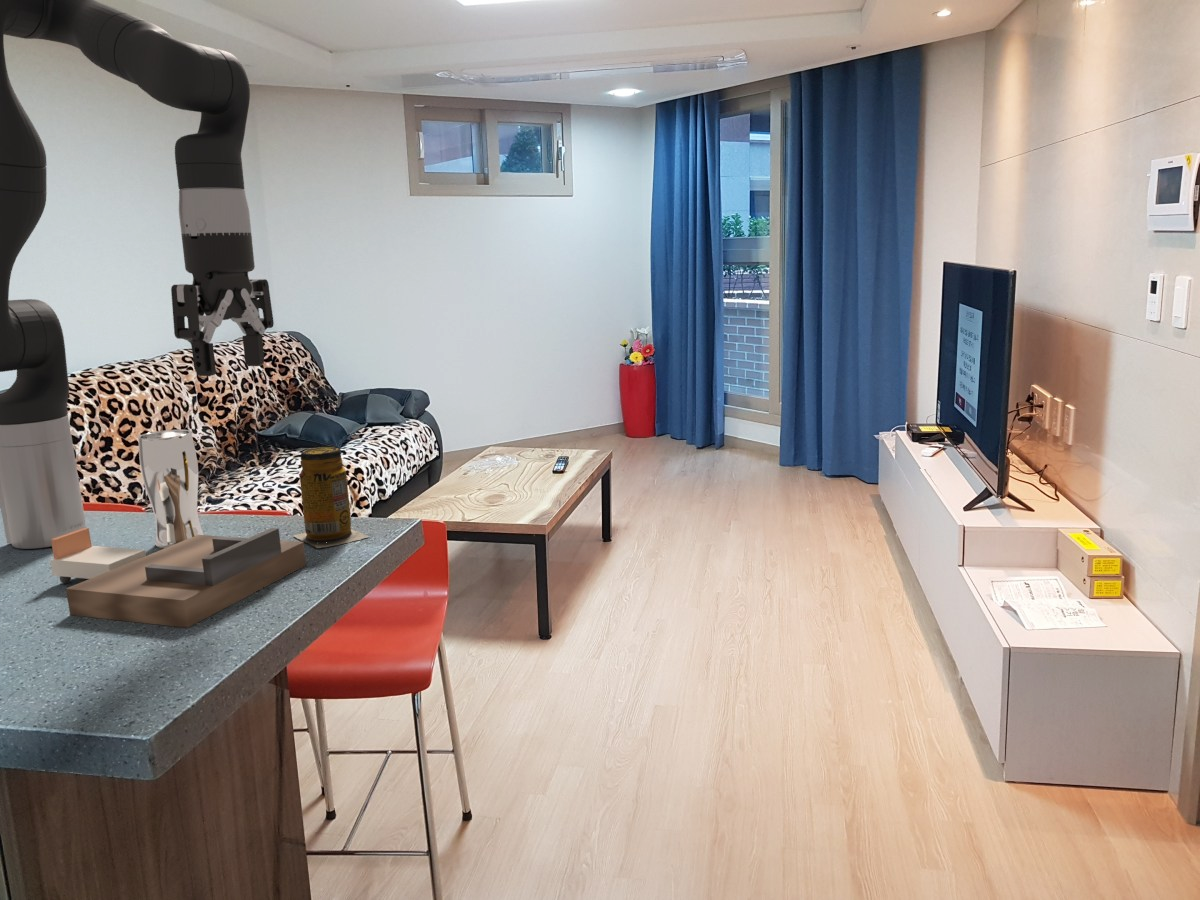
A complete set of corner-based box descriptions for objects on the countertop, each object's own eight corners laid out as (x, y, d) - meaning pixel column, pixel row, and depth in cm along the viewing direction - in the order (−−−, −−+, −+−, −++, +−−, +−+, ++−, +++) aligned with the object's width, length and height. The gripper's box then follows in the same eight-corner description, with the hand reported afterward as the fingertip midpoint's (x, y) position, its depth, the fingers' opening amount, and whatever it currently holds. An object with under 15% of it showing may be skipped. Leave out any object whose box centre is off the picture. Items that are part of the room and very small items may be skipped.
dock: (70, 614, 102) (61, 562, 101) (201, 557, 121) (195, 512, 119) (188, 627, 97) (180, 572, 96) (306, 565, 116) (300, 518, 114)
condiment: (343, 525, 132) (334, 442, 130) (369, 538, 126) (361, 450, 123) (292, 537, 128) (282, 451, 125) (317, 550, 122) (307, 460, 119)
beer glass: (218, 538, 129) (204, 431, 126) (172, 552, 123) (156, 440, 120) (187, 531, 133) (172, 427, 130) (141, 545, 127) (125, 437, 124)
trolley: (54, 585, 112) (46, 540, 111) (92, 569, 117) (85, 526, 116) (112, 590, 109) (105, 544, 108) (149, 574, 114) (142, 530, 113)
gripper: (231, 231, 116) (244, 362, 119) (143, 231, 102) (161, 378, 106) (282, 230, 113) (294, 363, 117) (199, 229, 100) (216, 380, 104)
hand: (231, 370), depth 111 cm, fingers open, 8 cm apart
